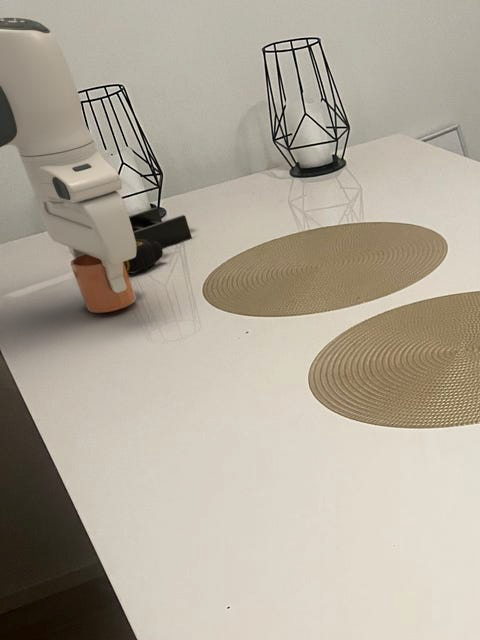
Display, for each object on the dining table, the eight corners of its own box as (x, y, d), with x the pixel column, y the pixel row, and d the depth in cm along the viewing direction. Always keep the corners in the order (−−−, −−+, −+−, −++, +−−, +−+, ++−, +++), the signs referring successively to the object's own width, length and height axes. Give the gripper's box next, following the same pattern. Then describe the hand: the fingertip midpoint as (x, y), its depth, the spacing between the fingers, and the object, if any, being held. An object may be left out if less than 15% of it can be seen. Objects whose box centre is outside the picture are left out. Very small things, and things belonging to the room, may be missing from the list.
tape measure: (169, 262, 142) (160, 236, 139) (137, 278, 137) (128, 252, 135) (135, 260, 145) (126, 234, 142) (103, 276, 140) (93, 250, 138)
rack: (111, 266, 144) (103, 243, 142) (84, 255, 150) (75, 233, 148) (192, 238, 150) (185, 215, 148) (162, 229, 156) (155, 207, 154)
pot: (100, 316, 124) (83, 269, 120) (79, 306, 128) (62, 261, 124) (144, 300, 127) (129, 254, 123) (123, 291, 131) (107, 246, 127)
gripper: (10, 169, 122) (52, 278, 131) (75, 189, 110) (117, 308, 118) (56, 157, 125) (95, 264, 134) (125, 175, 113) (162, 291, 121)
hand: (106, 285), depth 126 cm, fingers closed on pot, 6 cm apart
